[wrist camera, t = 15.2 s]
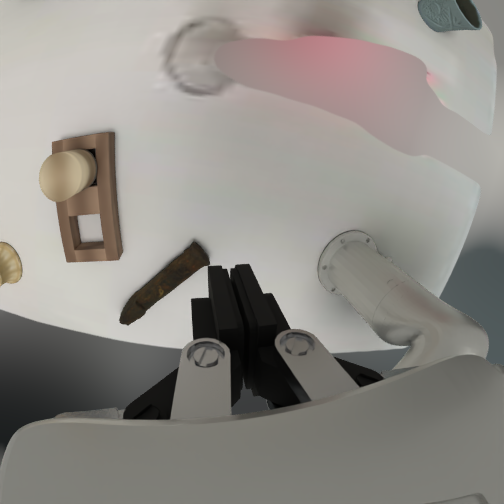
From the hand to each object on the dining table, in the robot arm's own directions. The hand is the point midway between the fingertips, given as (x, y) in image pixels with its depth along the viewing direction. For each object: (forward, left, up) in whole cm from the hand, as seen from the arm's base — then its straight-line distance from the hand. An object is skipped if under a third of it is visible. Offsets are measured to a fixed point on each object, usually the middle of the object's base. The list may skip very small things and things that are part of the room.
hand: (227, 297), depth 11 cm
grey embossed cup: (-45, -43, -29) cm, 69 cm away
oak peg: (+17, -4, -29) cm, 34 cm away
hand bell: (+38, +11, -29) cm, 49 cm away
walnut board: (+17, +1, -29) cm, 34 cm away
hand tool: (+7, +16, -30) cm, 34 cm away
